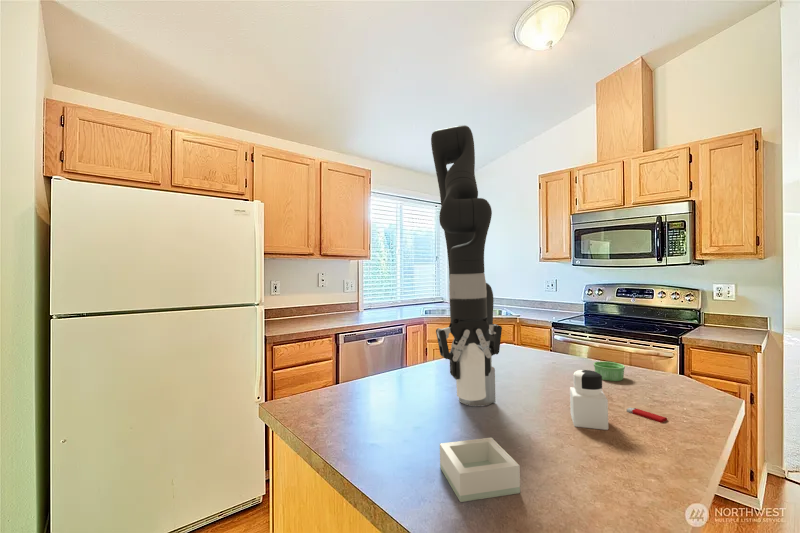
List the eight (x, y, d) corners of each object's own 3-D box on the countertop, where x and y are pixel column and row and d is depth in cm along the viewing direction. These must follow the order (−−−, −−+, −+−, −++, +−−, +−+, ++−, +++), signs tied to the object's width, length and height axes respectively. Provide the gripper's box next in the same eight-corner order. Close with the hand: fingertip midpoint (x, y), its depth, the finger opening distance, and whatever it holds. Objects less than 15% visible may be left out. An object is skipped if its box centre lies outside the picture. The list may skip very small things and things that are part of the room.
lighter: (660, 419, 86) (626, 408, 93) (661, 425, 86) (626, 413, 93) (667, 417, 88) (632, 406, 95) (667, 422, 88) (632, 411, 95)
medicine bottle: (602, 418, 89) (601, 369, 89) (608, 430, 83) (607, 377, 83) (570, 415, 92) (569, 367, 92) (573, 426, 85) (572, 374, 85)
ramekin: (631, 381, 117) (630, 368, 117) (602, 382, 117) (602, 368, 117) (615, 373, 126) (614, 361, 126) (588, 374, 126) (588, 361, 126)
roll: (485, 336, 78) (482, 341, 72) (487, 392, 78) (484, 402, 72) (457, 335, 80) (452, 340, 74) (459, 390, 80) (454, 399, 74)
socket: (492, 460, 71) (491, 437, 71) (520, 493, 60) (519, 465, 60) (440, 467, 69) (439, 443, 69) (460, 502, 58) (459, 473, 58)
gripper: (491, 292, 81) (494, 368, 81) (429, 295, 78) (431, 375, 78) (508, 295, 74) (511, 378, 74) (440, 298, 71) (443, 386, 71)
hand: (470, 376), depth 76 cm, fingers closed on roll, 5 cm apart
